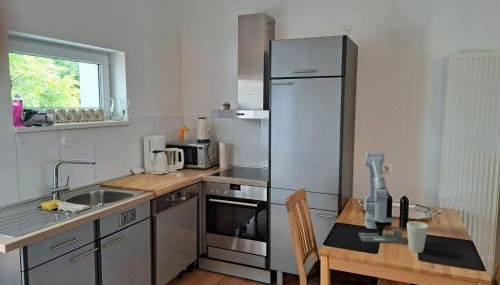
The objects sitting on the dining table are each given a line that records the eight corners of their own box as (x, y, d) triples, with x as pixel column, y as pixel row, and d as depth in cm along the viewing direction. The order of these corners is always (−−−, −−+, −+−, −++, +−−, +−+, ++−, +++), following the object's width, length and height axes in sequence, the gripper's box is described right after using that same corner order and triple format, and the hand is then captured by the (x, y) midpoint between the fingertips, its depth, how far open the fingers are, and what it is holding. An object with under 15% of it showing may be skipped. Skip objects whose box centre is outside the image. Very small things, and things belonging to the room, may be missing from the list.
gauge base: (358, 234, 192) (358, 226, 191) (399, 235, 190) (399, 227, 189) (362, 242, 182) (363, 233, 181) (406, 243, 180) (406, 234, 179)
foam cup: (424, 247, 175) (425, 222, 174) (428, 254, 166) (430, 228, 165) (404, 245, 178) (405, 220, 176) (407, 252, 169) (408, 227, 167)
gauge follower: (380, 234, 188) (380, 231, 187) (386, 235, 187) (386, 231, 187) (384, 239, 181) (384, 235, 181) (390, 239, 181) (390, 235, 181)
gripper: (368, 212, 181) (367, 237, 182) (397, 213, 179) (396, 238, 181) (365, 208, 188) (364, 232, 189) (392, 209, 186) (391, 233, 188)
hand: (379, 235), depth 186 cm, fingers closed
